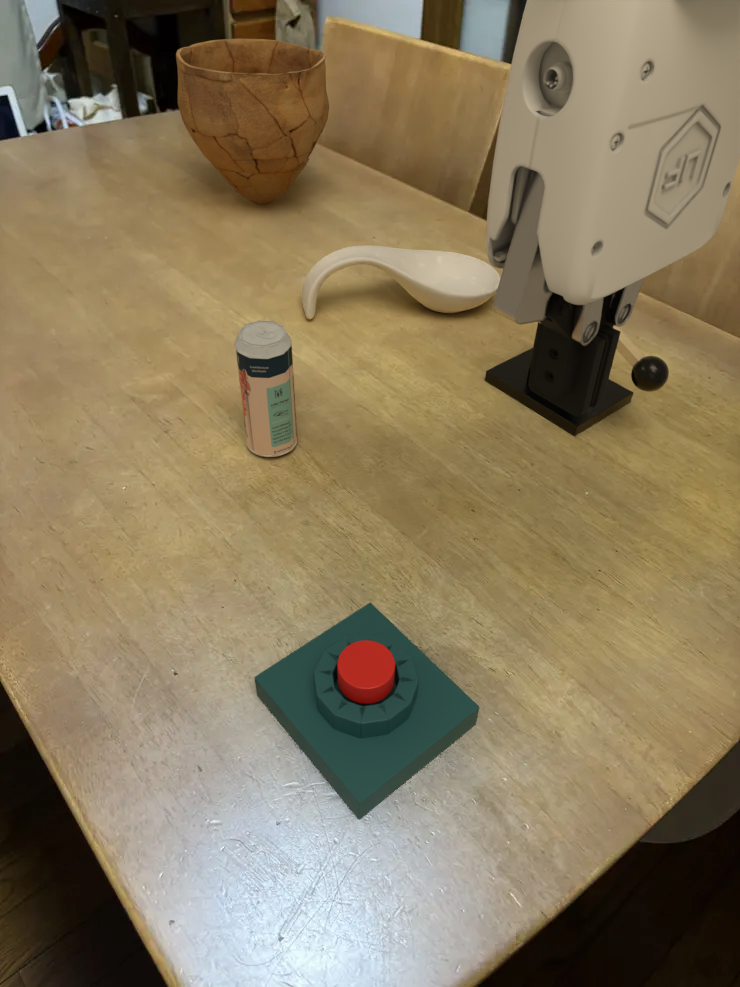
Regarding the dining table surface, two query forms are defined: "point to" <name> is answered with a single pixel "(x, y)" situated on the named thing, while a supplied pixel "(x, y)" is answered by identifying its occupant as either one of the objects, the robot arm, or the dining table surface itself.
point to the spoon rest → (413, 276)
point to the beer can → (267, 387)
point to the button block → (366, 711)
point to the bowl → (253, 109)
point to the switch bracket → (516, 384)
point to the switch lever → (642, 365)
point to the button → (366, 672)
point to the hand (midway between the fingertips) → (564, 396)
